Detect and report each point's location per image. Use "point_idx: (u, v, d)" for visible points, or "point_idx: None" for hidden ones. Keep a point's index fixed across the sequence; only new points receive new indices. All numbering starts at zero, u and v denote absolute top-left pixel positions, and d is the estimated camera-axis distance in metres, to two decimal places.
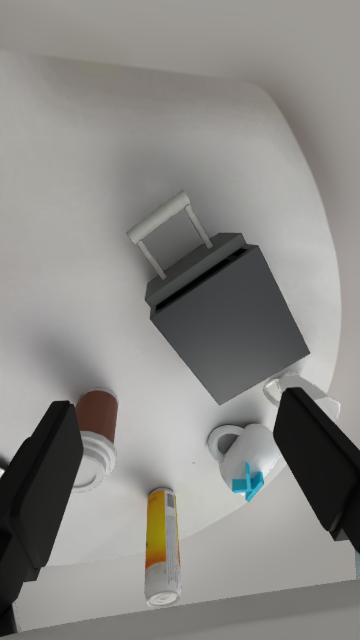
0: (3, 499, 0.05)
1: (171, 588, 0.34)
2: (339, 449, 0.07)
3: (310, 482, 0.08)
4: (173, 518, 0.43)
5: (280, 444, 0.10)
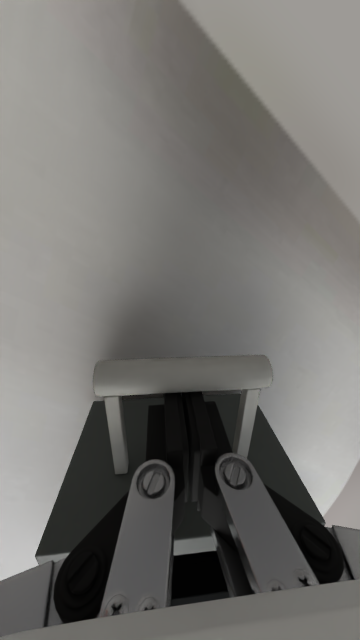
0: (175, 440, 0.07)
1: None
2: (195, 426, 0.08)
3: None
4: None
5: None
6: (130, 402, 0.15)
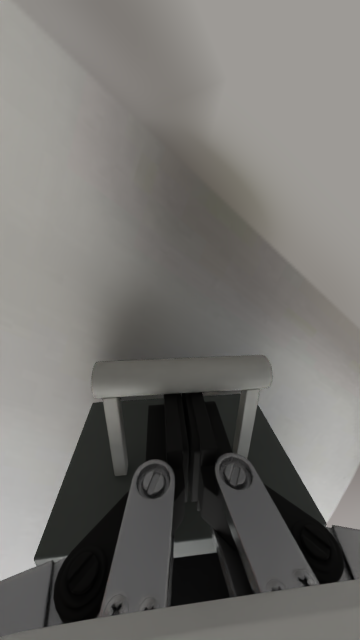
0: (175, 441, 0.07)
1: None
2: (195, 426, 0.08)
3: None
4: None
5: None
6: (130, 403, 0.15)
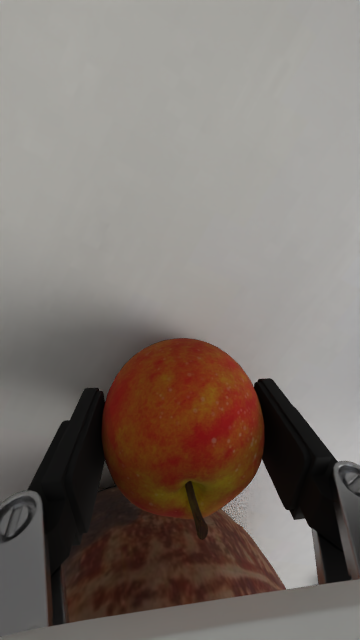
0: (57, 468, 0.06)
1: None
2: (296, 433, 0.07)
3: (275, 466, 0.08)
4: None
5: None
6: None
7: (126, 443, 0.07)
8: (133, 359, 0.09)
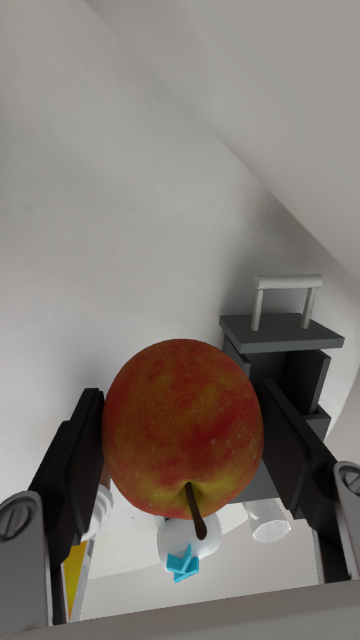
0: (57, 468, 0.06)
1: None
2: (296, 433, 0.07)
3: (275, 466, 0.08)
4: (87, 570, 0.40)
5: None
6: (239, 316, 0.29)
7: (125, 444, 0.07)
8: (132, 360, 0.09)
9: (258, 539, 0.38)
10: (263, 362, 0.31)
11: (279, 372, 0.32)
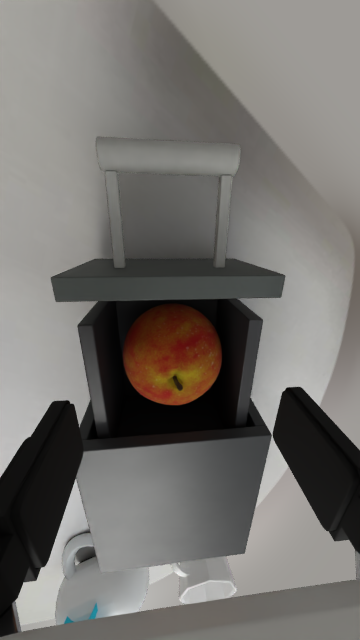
0: (3, 499, 0.05)
1: None
2: (339, 449, 0.07)
3: (310, 482, 0.08)
4: None
5: (280, 444, 0.10)
6: (127, 259, 0.17)
7: (139, 351, 0.13)
8: (142, 314, 0.15)
9: (190, 603, 0.26)
10: None
11: None
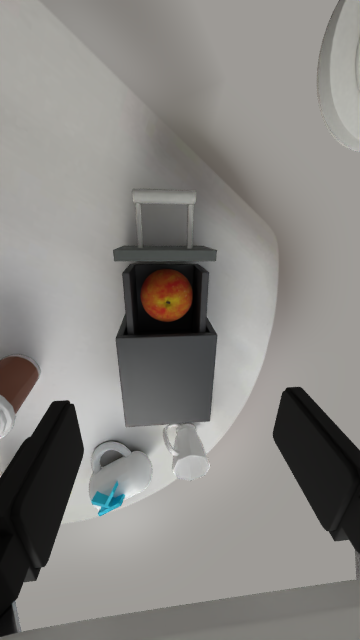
0: (3, 499, 0.05)
1: None
2: (339, 449, 0.07)
3: (310, 482, 0.08)
4: None
5: (280, 444, 0.10)
6: None
7: (150, 288, 0.26)
8: (150, 274, 0.28)
9: (180, 476, 0.40)
10: None
11: None
